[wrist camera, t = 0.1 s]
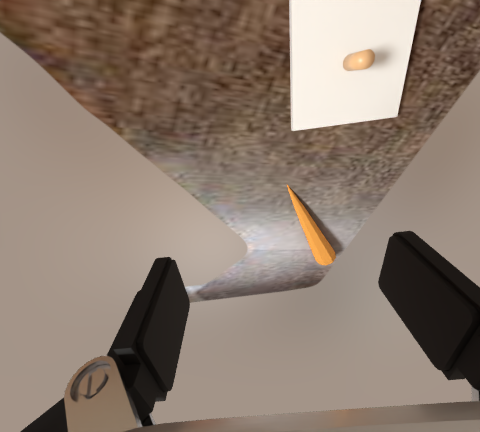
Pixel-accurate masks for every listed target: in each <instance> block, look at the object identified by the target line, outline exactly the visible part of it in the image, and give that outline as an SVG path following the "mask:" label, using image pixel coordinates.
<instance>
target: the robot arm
mask: <svg viewBox="0 0 480 432" xmlns="http://www.w3.org/2000/svg"><path fill="white" fill-rule="evenodd" d="M378 283H379V287H380V289H381V291H382V292H383V294H384V295H385V297H386V298H387V299H388V301H389V302H390V304H391V305H392V307H393V308H394V309H395V311H396V312H397V314H398V315H399V317H400V318H401V319H402V321H403V322H404V324H405V325H406V327H407V328H408V329H409V331H410V332H411V334H412V335H413V337H414V338H415V339H416V341H417V342H418V344H419V345H420V347H421V348H422V349H423V351H424V352H425V354H426V355H427V357H428V358H429V359H430V361H431V362H432V364H433V365H434V366H435V367H436V368H437V369H438V370H441V371H442V372H443V374H444V375H445V376H446V378H447V379H448V380H456V379H465V378H466V379H467V380H468V382H469V383H470V384H471V385H472V402H454V403H438V404H422V405H406V406H390V407H375V408H361V409H345V410H330V411H316V412H303V413H288V414H274V415H260V416H247V417H232V418H219V419H206V420H196V421H185V422H174V423H164V424H158V425H156V424H155V421H154V419H153V417H152V414H151V412H152V411H153V408H154V404H155V402H156V401H165V400H166V396H167V391H170V390H171V389H172V387H173V382H174V378H175V373H176V368H177V363H178V359H179V354H180V349H181V345H182V340H183V336H184V331H185V326H186V321H187V317H188V312H189V306H190V302H189V298H188V295H187V292H186V289H185V287H184V284H183V281H182V278H181V275H180V273H179V270H178V267H177V264H176V262H175V260H171V258H170V257H164V258H157V259H155V261H154V263H153V265H152V268H151V270H150V272H149V274H148V276H147V278H146V280H145V283H144V285H143V287H142V289H141V290H140V291H138V292H137V294H136V296H135V298H134V300H133V302H132V304H131V306H130V308H129V310H128V312H127V315H126V317H125V319H124V321H123V323H122V325H121V327H120V329H119V331H118V333H117V336H116V337H115V340H114V342H113V344H112V346H111V348H110V350H109V352H108V354H107V356H100V357H97V358H94V359H92V360H90V361H88V362H87V363H86V364H84V365H83V366H82V367H80V368H79V369H78V370H77V372H76V373H75V374H74V375H73V376H72V378H71V379H70V381H69V383H68V385H67V387H66V390H65V395H64V398H63V399H61V400H60V401H59V402H58V403H56V404H55V405H54V406H53V407H51V408H50V409H49V410H47V411H46V412H45V413H44V414H42V415H41V416H40V417H39V418H37V419H36V420H35V421H33V422H32V423H31V424H30V425H28V426H27V427H26V428H25V429H23V430H22V431H21V432H480V287H478V286H477V285H476V284H475V283H473V282H472V281H471V280H470V279H469V278H467V277H466V276H465V275H464V274H463V273H462V272H460V271H459V270H458V269H457V268H456V267H454V266H453V265H452V264H451V263H450V262H448V261H447V260H446V259H445V258H444V257H442V256H441V255H440V254H439V253H438V252H436V251H435V250H434V249H433V248H432V247H430V246H429V245H428V244H427V243H426V242H425V241H423V240H422V239H421V238H419V236H417V235H416V234H415V233H414V232H412V231H405V232H396V233H394V234H393V236H391V237H390V238H389V241H388V245H387V249H386V253H385V257H384V262H383V265H382V269H381V273H380V277H379V281H378Z"/></svg>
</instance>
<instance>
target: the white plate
mask: <svg viewBox="0 0 480 432" xmlns="http://www.w3.org/2000/svg"><path fill="white" fill-rule="evenodd" d="M420 2H421V0H289V8H290V79H291V130H292V131H296V130H303V129H311V128H318V127H325V126H333V125H340V124H347V123H355V122H362V121H369V120H377V119H384V118H391V117H397V115H398V110H399V105H400V100H401V96H402V91H403V86H404V81H405V76H406V71H407V66H408V61H409V56H410V51H411V47H412V42H413V37H414V32H415V27H416V22H417V17H418V12H419V7H420Z"/></svg>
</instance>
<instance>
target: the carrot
mask: <svg viewBox="0 0 480 432" xmlns="http://www.w3.org/2000/svg"><path fill="white" fill-rule="evenodd" d="M287 187H288V190H289V193H290V196H291V199H292V202H293V205H294V208H295V210H296V213H297V215H298V218H299V220H300V223H301V225H302V228H303V230H304V233H305V235H306V238H307V240H308V243H309V245H310V248H311V250H312V253H313V255H314V258H315V260H316V261H317V262H318V263H319V264H321V265H328V264H330V263H333V261H334V259H335V258H336V256H335V252H334V250H333V248H332V247H331V245H330V244H329V242H328V241H327V239H326V238H325V237H324V235H323V234H322V232H321V231H320V229H319V228H318V226H317V225H316V223H315V222H314V220H313V219H312V217H311V216H310V215H309V213H308V212H307V210H306V209H305V207H304V206H303V204H302V203H301V202H300V200H299V199H298V198H297V196H296V195H295V194H294V193H293V191H292V190H291V189H290V187H289V186H288V185H287Z"/></svg>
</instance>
